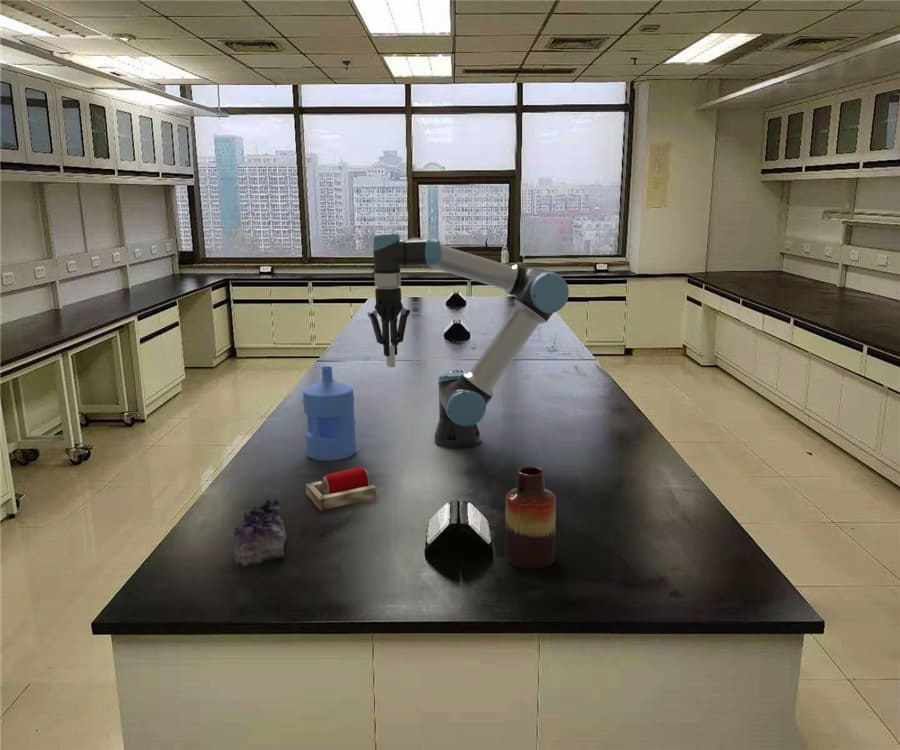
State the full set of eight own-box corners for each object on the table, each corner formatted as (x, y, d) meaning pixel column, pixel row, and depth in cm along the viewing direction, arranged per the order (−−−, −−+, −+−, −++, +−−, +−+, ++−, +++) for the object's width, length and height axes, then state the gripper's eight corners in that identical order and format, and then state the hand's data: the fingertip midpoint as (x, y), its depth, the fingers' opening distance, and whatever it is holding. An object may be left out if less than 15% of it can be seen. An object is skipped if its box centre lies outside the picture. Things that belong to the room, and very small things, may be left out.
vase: (564, 556, 156) (566, 469, 151) (536, 575, 148) (537, 484, 143) (524, 541, 163) (525, 458, 158) (495, 559, 155) (495, 472, 150)
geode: (241, 531, 171) (243, 491, 170) (289, 533, 173) (292, 494, 171) (227, 569, 152) (229, 525, 150) (282, 571, 153) (285, 527, 152)
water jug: (328, 442, 234) (323, 360, 228) (366, 450, 226) (362, 365, 220) (296, 457, 221) (290, 370, 215) (335, 465, 213) (329, 375, 207)
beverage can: (360, 475, 198) (319, 483, 192) (364, 461, 194) (322, 470, 188) (367, 493, 194) (326, 502, 189) (372, 480, 190) (330, 489, 184)
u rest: (359, 483, 199) (359, 473, 199) (376, 497, 189) (375, 487, 188) (306, 494, 192) (305, 484, 191) (320, 510, 182) (319, 499, 181)
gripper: (402, 284, 212) (405, 361, 217) (362, 287, 206) (366, 366, 211) (413, 286, 205) (416, 366, 211) (372, 290, 199) (375, 371, 205)
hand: (391, 366), depth 211 cm, fingers closed
